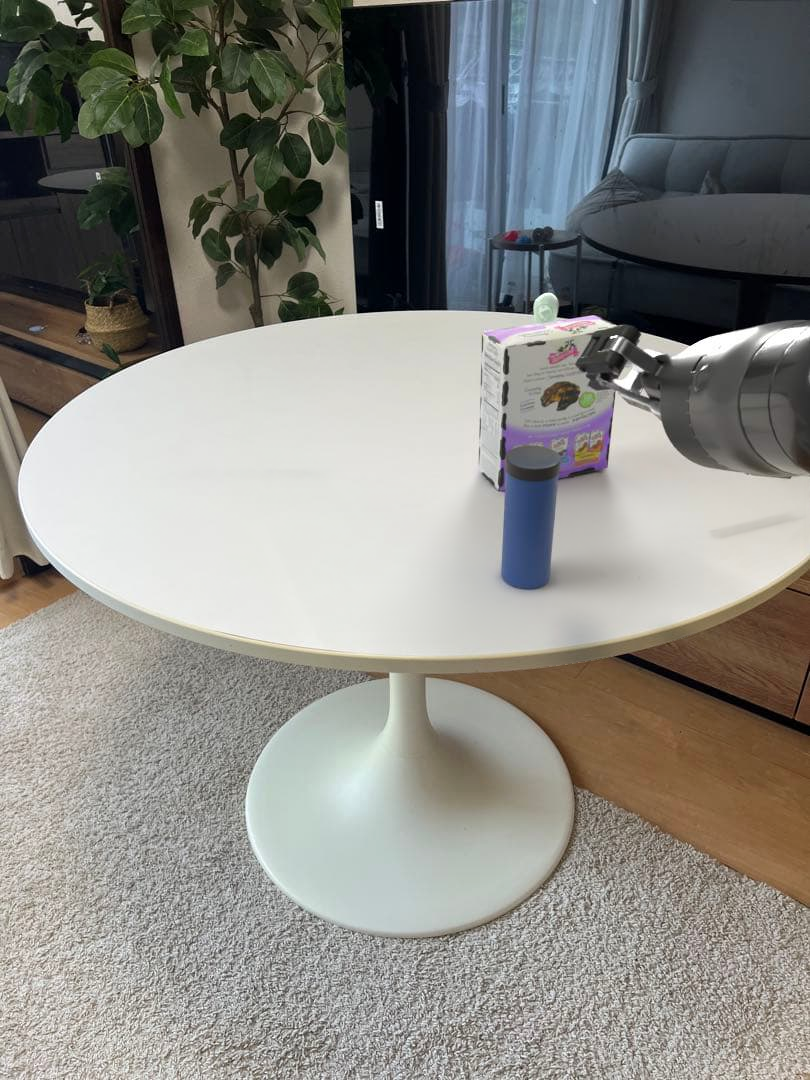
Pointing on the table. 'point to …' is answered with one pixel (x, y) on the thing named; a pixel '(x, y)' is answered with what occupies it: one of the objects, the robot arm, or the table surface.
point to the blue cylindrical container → (529, 515)
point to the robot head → (545, 308)
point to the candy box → (542, 397)
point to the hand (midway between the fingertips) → (647, 405)
